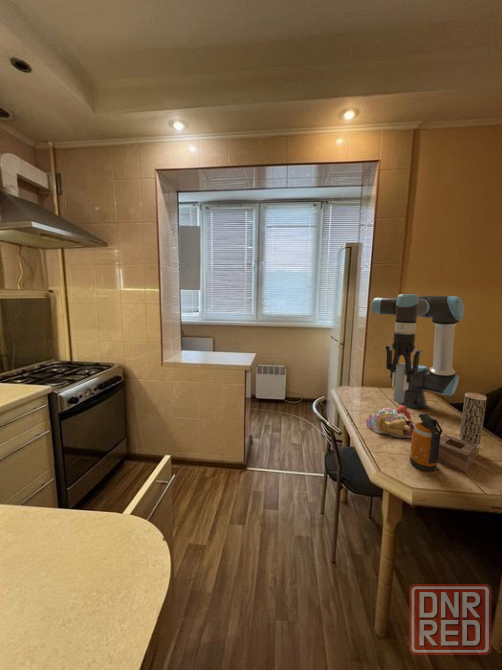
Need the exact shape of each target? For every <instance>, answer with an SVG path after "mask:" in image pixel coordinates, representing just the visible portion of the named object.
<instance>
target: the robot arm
mask: <svg viewBox="0 0 502 670" xmlns="http://www.w3.org/2000/svg"><path fill="white" fill-rule="evenodd" d="M370 306H371V307H370V309H371V312H372V314H375V315H386V316H388V315H389V316H390V315H391V316H395V321H394V333H393V343H392V344H391V345H386V346H385V349H386V364H385V365H386V367H385V368H386V369H387V370H389V371H390V376H389V377H390V379H391V388H393V389H394V385H395V373H396V363H400V362H399V361H400V358H401V356H402V357H403V358H404V364H405V365H406V373H407V374H405V375H404V385H403V390H404V391H405V395H404V403H398V404H400V406H401V405H404V406H406V408H409V409H417V410H418V409H420V410H422V409H426V408H427V403H428V401H427V399H426V395H425V391H428V392H431V393H436V394H439V395H443V396H449V397H450V396H452V395H454V394H455V392H456V390H457V387H458V384H459V382H460V376H459V375H458V374H456V370H455V369H454V368H453V361H454V359H453V358H454V344H455V332H456V331H455V330H456V325H459V323H460V321H461V320H463V319H464V316H465V315H464V314H465V303H464V301H463V298H461V297H460V296H455V295H453V296H452V295H421V296H420V295H418V294H417V293H416V294H415V293H412V294H410V293H407V294H404V293H403V294H402V293H401V294H398V295H397V297H396V298H395V297H375V298H374V299H373V300H371V305H370ZM419 317H421V318H427V319H431V324H433V325H434V337H433V338H434V339H433V355H432V356H433V358H432V361H433V362H432V366H431V367H429V369H428V367H427V366H426V365H420V358H421V355H422V353H423V351H422V350H419V349H417V348H416V346H415V341H416V340H415V339H416V334H415V333H416V332H417V331H416V330H417V319H418V318H419ZM393 351H394V355H393ZM412 353H413V355H414V356H413V360H411V359H412V358H411V357H412V355H411V354H412ZM393 356H394V357H393ZM412 361H413V362H412Z"/></svg>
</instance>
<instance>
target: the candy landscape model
mask: <svg viewBox="0 0 502 670" xmlns="http://www.w3.org/2000/svg"><path fill="white" fill-rule="evenodd" d="M403 415H404V416H405V417H406V418H405V417H404V416H403ZM365 421H366V423H365V424H366V426H367V427H368V428H369V429H372V431H374V432H375V433H377V434H381V435H390V436H392V437H395V438H401V439H402V438H407V439H408V438H411V439H412V432H413V430H414V429H415V425H416V424H415V423H414V422H413V421H412V417H411V413H410V411H408V407H406V406H404V405H401V404H400V406H398V407H397V408H396V409H392V408H391V407H383V408H382V409H381V410H380V409H379V410H378V411H377V413H376V412H375V414H374V415H372V413H369V414H368V417H366V420H365Z"/></svg>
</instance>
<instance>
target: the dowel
mask: <svg viewBox="0 0 502 670" xmlns="http://www.w3.org/2000/svg"><path fill="white" fill-rule="evenodd" d="M405 374H407V373H406V365H405V362H404V363H403V362H398V363H396V373H395V385H394V388H393V396H392V398H393V399H392V401H393V402H394V403H398V404H399V403H404V395H405V391H404V390H403V385H404V375H405Z"/></svg>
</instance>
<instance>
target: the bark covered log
mask: <svg viewBox="0 0 502 670" xmlns="http://www.w3.org/2000/svg"><path fill="white" fill-rule="evenodd" d="M486 404H487V396H486V395H485V394H480V393H478V392H477V393H476V392H465V394H464V400H463V409H462V416H461V423H460V431H459V436H458V437H459V438H458V439H460V440H463V441H466V442H469V443H472V444H474V445H477V446H476V453H475V458H476V457H478V456H479V453H480V447H481V440H482V432H483V428H484V427H483V426H484V420H485V412H486Z"/></svg>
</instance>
